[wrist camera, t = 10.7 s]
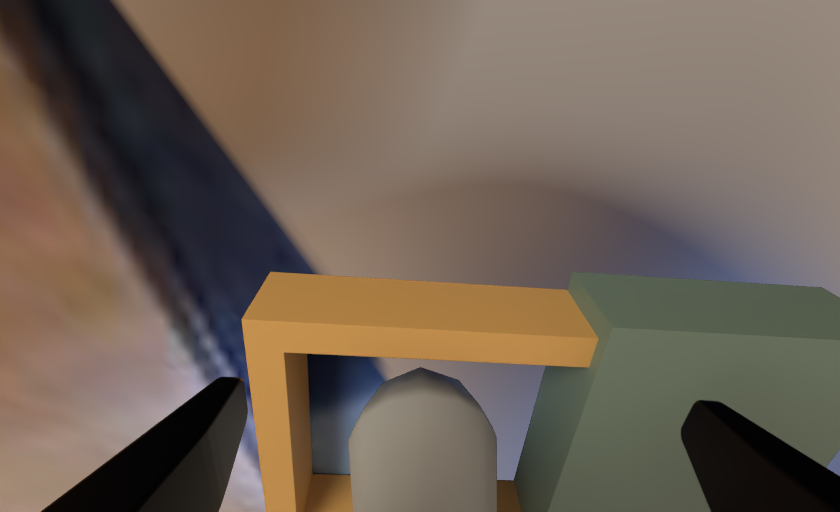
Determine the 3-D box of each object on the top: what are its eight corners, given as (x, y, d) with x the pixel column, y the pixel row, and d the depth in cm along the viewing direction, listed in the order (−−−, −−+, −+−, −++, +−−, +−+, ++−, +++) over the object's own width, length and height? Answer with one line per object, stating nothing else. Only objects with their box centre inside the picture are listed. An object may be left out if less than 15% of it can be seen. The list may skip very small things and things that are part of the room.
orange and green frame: (689, 511, 23) (734, 585, 19) (289, 499, 21) (269, 577, 18) (822, 287, 16) (919, 344, 13) (268, 252, 15) (232, 306, 12)
